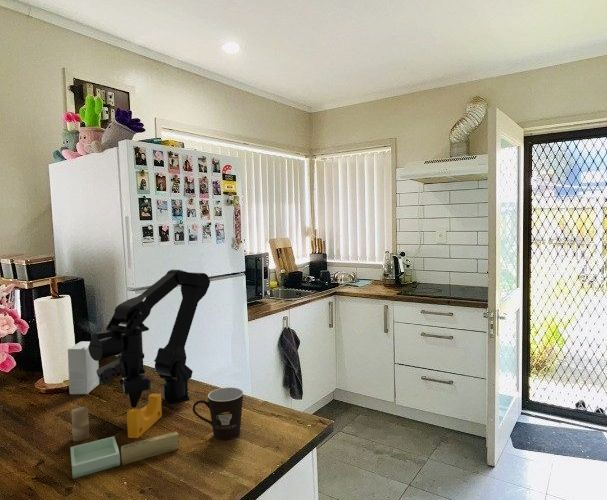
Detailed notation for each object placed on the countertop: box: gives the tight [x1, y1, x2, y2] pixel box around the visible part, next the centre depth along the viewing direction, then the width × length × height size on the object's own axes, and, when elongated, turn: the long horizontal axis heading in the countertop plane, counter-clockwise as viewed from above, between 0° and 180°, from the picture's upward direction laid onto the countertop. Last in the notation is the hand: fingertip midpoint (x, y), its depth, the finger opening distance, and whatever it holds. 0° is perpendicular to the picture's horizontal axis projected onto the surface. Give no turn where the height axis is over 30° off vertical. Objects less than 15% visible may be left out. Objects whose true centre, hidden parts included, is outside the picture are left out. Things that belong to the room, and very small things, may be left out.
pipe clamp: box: [126, 392, 163, 439], centre depth 108 cm, size 12×4×6 cm, turn 171°
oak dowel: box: [70, 406, 90, 442], centre depth 103 cm, size 4×4×7 cm
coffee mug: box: [192, 386, 244, 441], centre depth 103 cm, size 12×9×10 cm
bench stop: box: [120, 431, 180, 466], centre depth 94 cm, size 12×2×4 cm, turn 121°
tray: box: [69, 435, 121, 479], centre depth 92 cm, size 9×9×3 cm
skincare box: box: [67, 340, 100, 395], centre depth 134 cm, size 8×6×15 cm
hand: (133, 407), depth 113 cm, fingers closed
